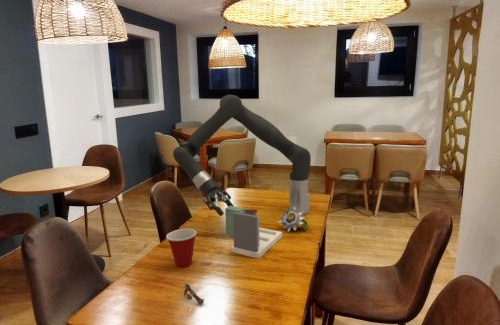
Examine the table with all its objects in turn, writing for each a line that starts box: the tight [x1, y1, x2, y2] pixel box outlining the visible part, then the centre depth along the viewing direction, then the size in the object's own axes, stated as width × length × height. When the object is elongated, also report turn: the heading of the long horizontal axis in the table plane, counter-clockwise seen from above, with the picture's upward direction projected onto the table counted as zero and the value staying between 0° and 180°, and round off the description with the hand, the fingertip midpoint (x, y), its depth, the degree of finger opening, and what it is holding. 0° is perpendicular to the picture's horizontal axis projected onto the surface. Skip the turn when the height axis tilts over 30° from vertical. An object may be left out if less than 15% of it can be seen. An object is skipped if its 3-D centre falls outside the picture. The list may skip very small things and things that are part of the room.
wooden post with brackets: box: [183, 283, 205, 306], centre depth 110 cm, size 2×8×4 cm, turn 50°
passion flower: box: [277, 206, 310, 233], centre depth 161 cm, size 11×11×12 cm
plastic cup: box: [165, 228, 197, 268], centre depth 131 cm, size 11×11×12 cm
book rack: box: [230, 212, 283, 259], centre depth 145 cm, size 22×12×16 cm, turn 152°
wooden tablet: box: [244, 209, 258, 216], centre depth 175 cm, size 26×2×10 cm
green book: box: [224, 206, 245, 237], centre depth 155 cm, size 4×7×12 cm, turn 62°
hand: (227, 211), depth 156 cm, fingers open, 8 cm apart
